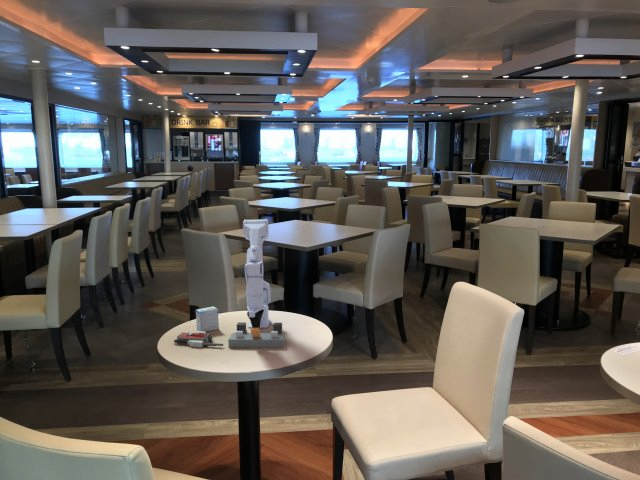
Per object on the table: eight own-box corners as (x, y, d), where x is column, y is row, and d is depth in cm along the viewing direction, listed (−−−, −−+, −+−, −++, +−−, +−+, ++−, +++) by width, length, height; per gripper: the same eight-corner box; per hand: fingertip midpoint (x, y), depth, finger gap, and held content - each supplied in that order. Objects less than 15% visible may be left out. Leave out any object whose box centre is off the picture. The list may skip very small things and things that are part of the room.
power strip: (232, 340, 198) (232, 327, 197) (285, 340, 196) (284, 328, 196) (228, 347, 191) (228, 334, 190) (282, 347, 189) (282, 334, 189)
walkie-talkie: (171, 347, 193) (222, 349, 190) (170, 335, 192) (222, 338, 189) (181, 338, 201) (230, 341, 198) (180, 327, 201) (230, 330, 197)
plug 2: (277, 331, 206) (276, 317, 205) (284, 331, 206) (284, 317, 205) (273, 340, 197) (273, 325, 196) (281, 340, 197) (281, 325, 196)
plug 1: (242, 331, 207) (241, 317, 206) (249, 331, 207) (249, 317, 206) (237, 340, 198) (236, 324, 197) (244, 340, 198) (244, 325, 197)
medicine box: (215, 326, 214) (214, 306, 213) (219, 329, 211) (218, 308, 209) (196, 330, 210) (195, 309, 208) (200, 333, 206) (199, 312, 205)
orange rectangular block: (252, 334, 193) (250, 327, 189) (260, 334, 192) (259, 327, 189) (252, 337, 192) (250, 330, 188) (260, 337, 192) (258, 330, 188)
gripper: (262, 300, 182) (263, 337, 184) (269, 289, 196) (270, 323, 198) (242, 299, 182) (244, 336, 184) (250, 289, 196) (251, 323, 199)
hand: (256, 330), depth 191 cm, fingers closed
